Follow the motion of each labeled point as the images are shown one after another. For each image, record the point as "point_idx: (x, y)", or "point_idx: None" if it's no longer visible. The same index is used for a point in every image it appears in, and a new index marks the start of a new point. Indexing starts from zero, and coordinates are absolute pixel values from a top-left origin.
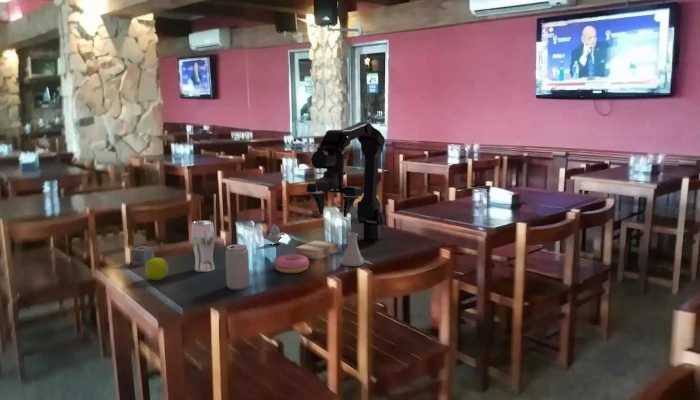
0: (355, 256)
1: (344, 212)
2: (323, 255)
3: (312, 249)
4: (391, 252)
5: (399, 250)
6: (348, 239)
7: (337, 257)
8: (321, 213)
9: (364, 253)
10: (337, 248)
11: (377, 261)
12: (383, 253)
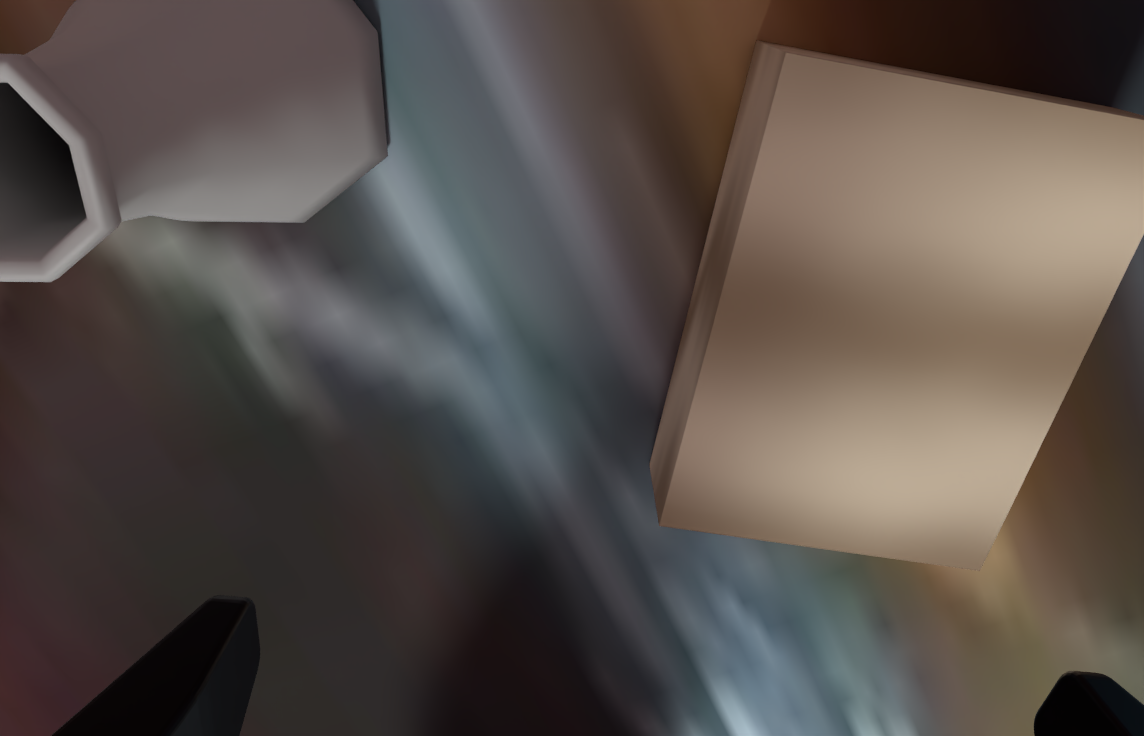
0: (82, 5)
1: (138, 700)
2: (724, 196)
3: (893, 127)
4: (118, 634)
5: None
6: (132, 118)
7: (555, 266)
8: (1064, 706)
9: (346, 515)
10: (653, 485)
11: (35, 294)
12: (167, 580)
